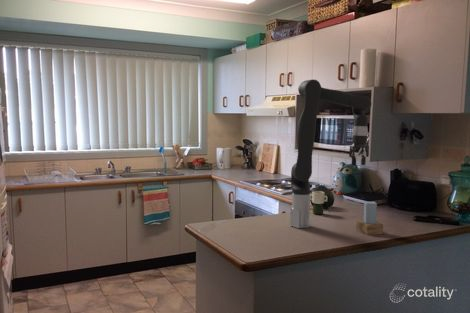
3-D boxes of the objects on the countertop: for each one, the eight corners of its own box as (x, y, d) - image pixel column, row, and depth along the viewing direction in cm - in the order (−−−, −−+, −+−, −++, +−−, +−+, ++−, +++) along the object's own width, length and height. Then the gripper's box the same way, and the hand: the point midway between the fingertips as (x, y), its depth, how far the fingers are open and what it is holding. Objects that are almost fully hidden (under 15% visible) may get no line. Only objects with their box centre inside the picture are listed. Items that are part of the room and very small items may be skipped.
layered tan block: (382, 234, 200) (383, 224, 200) (366, 235, 198) (367, 225, 197) (371, 229, 209) (371, 219, 209) (356, 230, 206) (356, 221, 206)
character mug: (328, 213, 242) (329, 192, 241) (325, 216, 236) (325, 193, 235) (311, 211, 247) (311, 190, 246) (307, 214, 241) (307, 192, 240)
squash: (324, 203, 246) (332, 182, 253) (303, 200, 256) (311, 181, 263) (333, 215, 255) (340, 195, 262) (312, 212, 265) (319, 193, 271)
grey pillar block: (376, 223, 200) (376, 203, 199) (365, 223, 201) (366, 203, 200) (373, 221, 205) (374, 201, 204) (363, 221, 206) (364, 201, 205)
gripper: (358, 134, 211) (356, 166, 212) (373, 135, 220) (372, 165, 221) (346, 134, 217) (344, 165, 218) (361, 134, 226) (360, 164, 227)
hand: (358, 165), depth 220 cm, fingers open, 8 cm apart
